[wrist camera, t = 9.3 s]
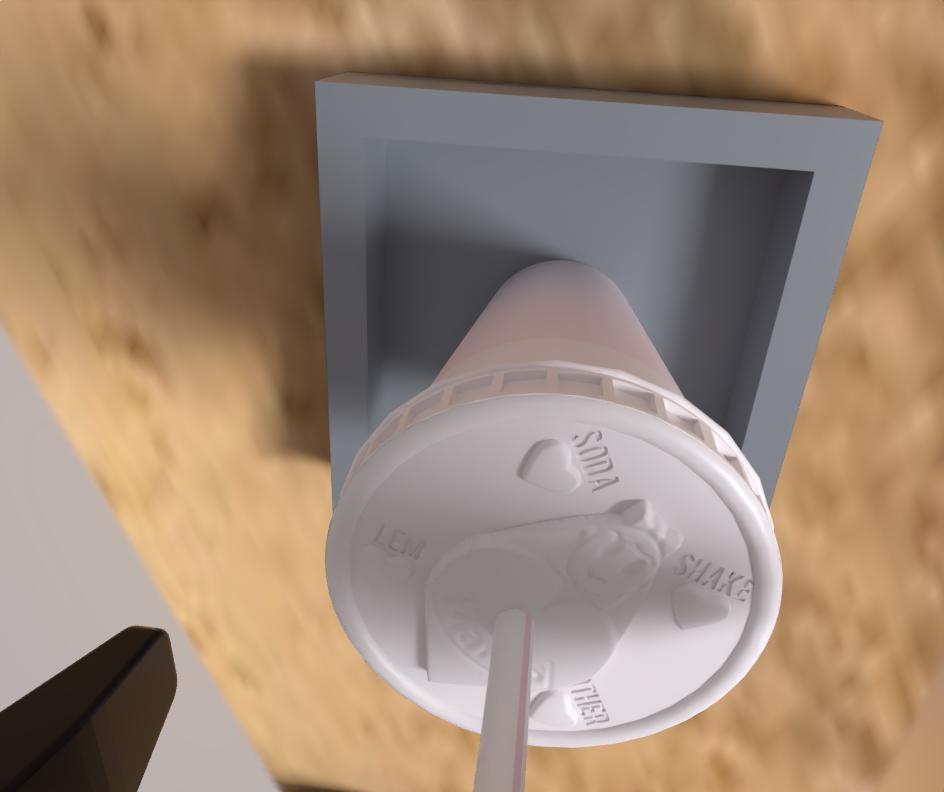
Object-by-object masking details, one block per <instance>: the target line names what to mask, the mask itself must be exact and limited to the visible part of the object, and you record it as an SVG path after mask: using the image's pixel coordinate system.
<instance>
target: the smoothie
mask: <svg viewBox="0 0 944 792" xmlns="http://www.w3.org/2000/svg"><path fill="white" fill-rule="evenodd" d="M325 566H326V578H327V584H328V589H329V594H330V597H331V600H332V604H333V607H334V610H335V612H336V614H337V617H338V619H339V622H340V624H341V626H342V627H343V629H344V631H345V633H346V635H347V636H348V638H349V640H350V641H351V643H352V644H353V646H354V647H355V649H356V650H357V651H358V653H359V654H360V655H361V656H362V658H363V659H364V660H365V661H366V662H367V664H368V665H369V666H370V667H371V668H372V669H373V670H374V671H375V672H376V673H377V674H378V675H379V676H380V677H381V678H382V679H383V680H384V681H385V682H387V683H388V684H389V685H390V686H391V687H392V688H393V689H395V690H396V691H397V692H398V693H399V694H401V695H403V696H404V697H406V698H407V699H409V700H410V701H411V702H413V703H415V704H416V705H418V706H419V707H421V708H422V709H424V710H425V711H427V712H428V713H431V714H433V715H435V716H437V717H439V718H441V719H443V720H445V721H448V722H450V723H452V724H454V725H456V726H458V727H460V728H463V729H466V730H469V731H472V732H476V733H479V734H481V736H480V744H479V752H478V759H477V767H476V775H475V783H474V790H473V792H524V787H525V771H526V756H527V745H533V746H547V747H573V748H576V747H586V746H597V745H607V744H615V743H619V742H624V741H628V740H632V739H636V738H640V737H644V736H649V735H652V734H654V733H657V732H659V731H662V730H664V729H667V728H669V727H672V726H674V725H676V724H679V723H681V722H684V721H686V720H688V719H689V718H691V717H693V716H694V715H696V714H698V713H700V712H701V711H703V710H705V709H706V708H708V707H709V706H710V705H712V704H713V703H715V702H717V701H718V700H719V699H720V698H722V697H723V696H724V695H725V694H726V693H728V692H729V691H730V690H731V689H732V688H733V687H734V686H735V685H736V684H737V683H738V682H739V681H740V680H741V679H742V678H743V677H744V676H745V675H746V674H747V673H748V671H749V670H750V669H751V667H752V666H753V665H754V664H755V662H756V661H757V659H758V658H759V656H760V655H761V653H762V651H763V650H764V648H765V647H766V645H767V642H768V640H769V638H770V636H771V634H772V632H773V629H774V626H775V623H776V620H777V617H778V613H779V608H780V603H781V597H782V580H783V576H782V565H781V557H780V552H779V548H778V544H777V540H776V537H775V534H774V525H773V522H772V518H771V515H770V512H769V508H768V505H767V501H766V498H765V494H764V491H763V488H762V484H761V481H760V478H759V476H758V475H757V473H756V472H755V470H754V469H753V468H752V466H751V465H750V463H749V462H748V460H747V459H746V457H745V456H744V455H743V453H742V452H741V450H740V449H739V447H738V446H737V445H736V443H735V442H734V440H733V439H732V437H731V436H730V435H729V433H728V432H727V431H726V430H724V429H723V428H722V427H721V426H719V425H718V424H717V423H716V422H714V421H713V420H712V419H711V418H709V417H708V416H707V415H706V414H704V413H703V412H702V411H701V410H699V409H698V408H697V407H695V406H694V405H693V404H692V403H690V402H689V401H688V400H687V399H685V398H684V396H683V394H682V393H681V391H680V389H679V388H678V386H677V384H676V383H675V381H674V379H673V378H672V376H671V374H670V373H669V371H668V369H667V367H666V366H665V364H664V362H663V361H662V359H661V357H660V356H659V354H658V352H657V351H656V349H655V347H654V345H653V344H652V342H651V340H650V339H649V337H648V335H647V334H646V332H645V330H644V329H643V327H642V325H641V324H640V322H639V320H638V318H637V317H636V315H635V313H634V312H633V310H632V308H631V307H630V305H629V303H628V302H627V300H626V298H625V297H624V295H623V293H622V292H621V290H620V289H619V288H618V287H617V285H616V284H615V283H614V282H613V281H612V280H611V279H610V278H608V277H607V276H606V275H605V274H603V273H602V272H600V271H598V270H597V269H595V268H593V267H590V266H588V265H585V264H582V263H578V262H574V261H566V260H553V261H545V262H540V263H537V264H534V265H531V266H529V267H526V268H524V269H522V270H520V271H519V272H517V273H516V274H514V275H513V276H512V277H510V278H509V279H508V280H507V281H506V282H505V283H504V284H503V285H502V286H501V287H500V289H499V290H498V291H497V293H496V294H495V295H494V297H493V298H492V300H491V301H490V302H489V304H488V305H487V307H486V308H485V310H484V311H483V312H482V314H481V315H480V317H479V318H478V319H477V321H476V322H475V324H474V325H473V326H472V328H471V329H470V331H469V332H468V333H467V335H466V336H465V338H464V339H463V340H462V342H461V343H460V345H459V346H458V347H457V349H456V350H455V352H454V353H453V355H452V356H451V357H450V359H449V360H448V362H447V363H446V364H445V366H444V367H443V369H442V370H441V371H440V373H439V374H438V376H437V377H436V378H435V380H434V381H433V383H432V384H431V385H430V387H429V388H427V389H426V390H424V391H423V392H421V393H419V394H418V395H416V396H415V397H413V398H412V399H410V400H409V401H407V402H406V403H404V404H403V405H401V406H400V407H398V408H397V409H395V410H394V411H392V412H390V413H389V415H388V416H387V417H386V418H385V419H384V421H383V422H382V423H381V424H380V425H379V427H378V428H377V429H376V430H375V431H374V432H373V434H372V435H371V436H370V437H369V438H368V440H367V441H366V442H365V443H364V444H363V446H362V447H361V448H360V449H359V450H358V452H357V453H356V456H355V458H354V461H353V463H352V466H351V468H350V471H349V473H348V476H347V478H346V481H345V483H344V486H343V488H342V491H341V493H340V496H339V501H338V503H337V505H336V508H335V510H334V513H333V516H332V519H331V522H330V525H329V530H328V536H327V541H326V553H325Z"/></svg>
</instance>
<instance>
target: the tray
mask: <svg viewBox="0 0 944 792" xmlns="http://www.w3.org/2000/svg"><path fill="white" fill-rule="evenodd" d="M315 101H316V125H317V149H318V173H319V196H320V220H321V244H322V268H323V292H324V315H325V339H326V363H327V387H328V410H329V434H330V458H331V482H332V506H333V513H334V510H335V508H336V505H337V503H338V501H339V496H340V493H341V491H342V488H343V486H344V483H345V481H346V478H347V476H348V473H349V471H350V468H351V466H352V463H353V461H354V458H355V456H356V453H357V452H358V450H359V449H360V448H361V447H362V446H363V444H364V443H365V442H366V441H367V440H368V438H369V437H370V436H371V435H372V434H373V432H374V431H375V430H376V429H377V428H378V427H379V425H380V424H381V423H382V422H383V421H384V419H385V418H386V417H387V416H388V415H389V413H390V412H392V411H394V410H395V409H397V408H398V407H400V406H401V405H403V404H404V403H406V402H407V401H409V400H410V399H412V398H413V397H415V396H416V395H418V394H419V393H421V392H423V391H424V390H426V389H427V388H429V387H430V385H431V384H432V383H433V381H434V380H435V378H436V377H437V376H438V374H439V373H440V371H441V370H442V369H443V367H444V366H445V364H446V363H447V362H448V360H449V359H450V357H451V356H452V355H453V353H454V352H455V350H456V349H457V347H458V346H459V345H460V343H461V342H462V340H463V339H464V338H465V336H466V335H467V333H468V332H469V331H470V329H471V328H472V326H473V325H474V324H475V322H476V321H477V319H478V318H479V317H480V315H481V314H482V312H483V311H484V310H485V308H486V307H487V305H488V304H489V302H490V301H491V300H492V298H493V297H494V295H495V294H496V293H497V291H498V290H499V289H500V287H501V286H502V285H503V284H504V283H505V282H506V281H507V280H508V279H509V278H510V277H512V276H513V275H514V274H516V273H517V272H519V271H520V270H522V269H524V268H526V267H529V266H531V265H534V264H537V263H540V262H545V261H553V260H566V261H574V262H578V263H582V264H585V265H588V266H590V267H593V268H595V269H597V270H598V271H600V272H602V273H603V274H605V275H606V276H607V277H608V278H610V279H611V280H612V281H613V282H614V283H615V284H616V285H617V287H618V288H619V289H620V290H621V292H622V293H623V295H624V297H625V298H626V300H627V302H628V303H629V305H630V307H631V308H632V310H633V312H634V313H635V315H636V317H637V318H638V320H639V322H640V324H641V325H642V327H643V329H644V330H645V332H646V334H647V335H648V337H649V339H650V340H651V342H652V344H653V345H654V347H655V349H656V351H657V352H658V354H659V356H660V357H661V359H662V361H663V362H664V364H665V366H666V367H667V369H668V371H669V373H670V374H671V376H672V378H673V379H674V381H675V383H676V384H677V386H678V388H679V389H680V391H681V393H682V394H683V396H684V398H685V399H687V400H688V401H689V402H690V403H692V404H693V405H694V406H695V407H697V408H698V409H699V410H701V411H702V412H703V413H704V414H706V415H707V416H708V417H709V418H711V419H712V420H713V421H714V422H716V423H717V424H718V425H719V426H721V427H722V428H723V429H724V430H726V431H727V432H728V433H729V435H730V436H731V437H732V439H733V440H734V442H735V443H736V445H737V446H738V447H739V449H740V450H741V452H742V453H743V455H744V456H745V457H746V459H747V460H748V462H749V463H750V465H751V466H752V468H753V469H754V470H755V472H756V473H757V475H758V476H759V478H760V481H761V484H762V488H763V491H764V494H765V498H766V501H767V505H768V508H770V504H771V501H772V498H773V494H774V491H775V487H776V484H777V481H778V477H779V474H780V470H781V467H782V464H783V460H784V457H785V454H786V450H787V447H788V443H789V440H790V437H791V433H792V430H793V426H794V423H795V420H796V416H797V413H798V410H799V406H800V403H801V399H802V396H803V393H804V389H805V386H806V382H807V379H808V376H809V372H810V369H811V365H812V362H813V359H814V355H815V352H816V349H817V345H818V342H819V338H820V335H821V332H822V328H823V325H824V321H825V318H826V315H827V311H828V308H829V305H830V301H831V298H832V294H833V291H834V288H835V284H836V281H837V277H838V274H839V271H840V267H841V264H842V260H843V257H844V254H845V250H846V247H847V244H848V240H849V237H850V233H851V230H852V227H853V223H854V220H855V216H856V213H857V210H858V206H859V203H860V200H861V196H862V193H863V189H864V186H865V183H866V179H867V176H868V172H869V169H870V166H871V162H872V159H873V155H874V152H875V149H876V145H877V142H878V139H879V135H880V132H881V128H882V125H883V122H884V121H881V120H878V119H876V118H873V117H870V116H868V115H865V114H862V113H859V112H857V111H854V110H851V109H849V108H846V107H843V106H835V105H821V104H806V103H792V102H777V101H763V100H749V99H734V98H720V97H705V96H691V95H676V94H662V93H647V92H633V91H618V90H604V89H590V88H575V87H561V86H546V85H532V84H517V83H503V82H488V81H474V80H459V79H445V78H431V77H416V76H402V75H387V74H373V73H358V72H345V73H342V74H338V75H335V76H331V77H328V78H324V79H321V80H317V81H315Z"/></svg>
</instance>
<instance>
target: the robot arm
mask: <svg viewBox="0 0 944 792" xmlns="http://www.w3.org/2000/svg"><path fill="white" fill-rule="evenodd" d="M176 687H177V674H176V669H175V663H174V658H173V653H172V648H171V642H170V638H169V635H168V633H167V632H166V631H165V630H163V629H159V628H152V627H144V626H131V627H128V628H126V629H124V630H123V631H121V632H120V633H118V634H117V635H115V636H114V637H112V638H111V639H109V640H108V641H106V642H105V643H103V644H102V645H100V646H99V647H98V648H96V649H94V650H93V651H91V652H90V653H88V654H87V655H85V656H84V657H82V658H81V659H79V660H78V661H76V662H75V663H73V664H72V665H70V666H69V667H67V668H66V669H64V670H63V671H61V672H60V673H58V674H57V675H55V676H54V677H52V678H51V679H49V680H48V681H46V682H45V683H43V684H42V685H40V686H39V687H37V688H36V689H34V690H33V691H31V692H30V693H28V694H27V695H25V696H24V697H22V698H21V699H19V700H18V701H16V702H15V703H13V704H12V705H11V706H9V707H7V708H6V709H4V710H3V711H1V712H0V792H137V790H138V788H139V785H140V783H141V780H142V778H143V775H144V773H145V770H146V768H147V765H148V762H149V760H150V758H151V755H152V752H153V750H154V747H155V745H156V742H157V740H158V737H159V735H160V732H161V730H162V727H163V725H164V722H165V720H166V717H167V714H168V712H169V710H170V707H171V704H172V702H173V699H174V696H175V692H176Z"/></svg>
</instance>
